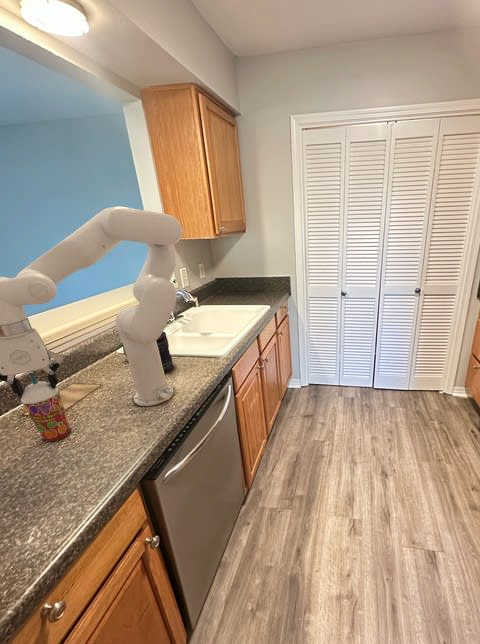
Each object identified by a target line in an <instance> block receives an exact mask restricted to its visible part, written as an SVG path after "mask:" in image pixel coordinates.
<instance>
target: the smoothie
mask: <svg viewBox="0 0 480 644" xmlns="http://www.w3.org/2000/svg"><path fill="white" fill-rule="evenodd" d="M29 375H30V378H31V380H32V382H31V383H30V384H28V385H27V386H26V387H25V388H24V389H23V390H24V391H23V395H22V396H21V399H20V402H21V403H22V404H23V406H24V408H25V409H26V413H27V412H28V413H29V415H28V416H29V417H30V419H31V421H32V422H33V423H34V426H35V428H36V429H37V432H39V435H40V436H41V438H42V439H44V440H45V441H47V442H55V441H58V440H60V439H63V438H64V437H66V436H67V435H69V432H70V428H71V425H70V422H69V419H68V415H67V413H66V410H65V409H64V406H63V403H62V399H61V396H60V393H59V392H60V389H59V388H58V387H57V386H56V388H54V389H53V388H52V387H51V384H50V382H49V381H43V380H40V381H37V379H36V377H35V375H34V372H33V373H30V374H29Z"/></svg>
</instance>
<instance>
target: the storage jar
mask: <svg viewBox="0 0 480 644" xmlns="http://www.w3.org/2000/svg"><path fill="white" fill-rule="evenodd" d="M156 342H157V345H158V349H159V354H160V358H161V362H162V366H163V370H164V374H165V375H167V374H169V373H171V372H173V370H174V363H173V356H172V354H171V353H170V344H169V340H168V337H167V333H166V332H165V331H163V333H162V334H161V336H160V337H159V338H158V339H157V340H156Z"/></svg>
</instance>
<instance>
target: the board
mask: <svg viewBox="0 0 480 644" xmlns="http://www.w3.org/2000/svg"><path fill="white" fill-rule="evenodd" d="M99 387H101V384H83V383H81V384H80V383H71V384H70V385H68V386H67V387H65V388H63V389H62V390H59V393H60V396H61V399H62V403H63V406H64V409H65V411H67V410H68V409H69V408H71V407H72V406H74V405H75V404H77V403H78V402H80V401H81V400H82V399H83V398H85V397H86V396H88V395H89V394H91V393H92V392H94V391H95V390H96V389H98V388H99ZM23 416H30V415H29V413H28V412H27V411H26V412H25V413H23Z"/></svg>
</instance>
